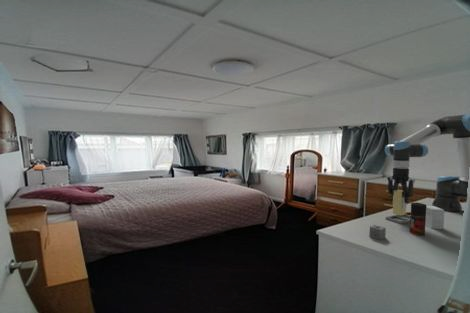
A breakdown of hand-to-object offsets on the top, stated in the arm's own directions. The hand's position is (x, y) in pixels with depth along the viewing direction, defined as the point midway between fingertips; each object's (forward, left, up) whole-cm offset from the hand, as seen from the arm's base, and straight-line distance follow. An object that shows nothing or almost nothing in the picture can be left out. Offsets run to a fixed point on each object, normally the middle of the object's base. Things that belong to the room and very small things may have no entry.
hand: (399, 206), depth 129 cm
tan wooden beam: (0, 0, -4) cm, 4 cm away
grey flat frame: (-7, 0, -8) cm, 11 cm away
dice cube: (+35, +9, -8) cm, 37 cm away
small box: (-7, +13, -8) cm, 17 cm away
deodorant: (+12, +15, -8) cm, 21 cm away
